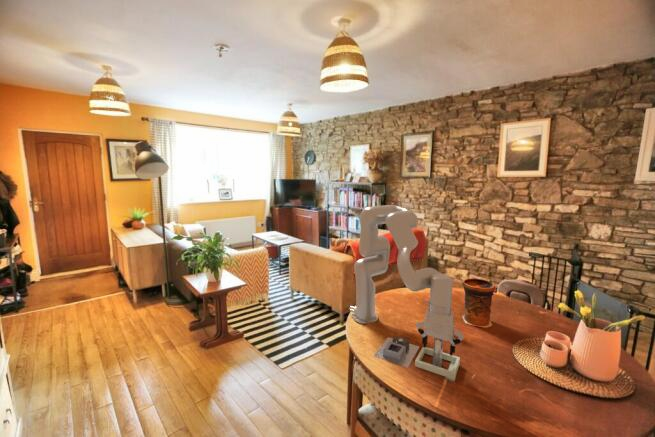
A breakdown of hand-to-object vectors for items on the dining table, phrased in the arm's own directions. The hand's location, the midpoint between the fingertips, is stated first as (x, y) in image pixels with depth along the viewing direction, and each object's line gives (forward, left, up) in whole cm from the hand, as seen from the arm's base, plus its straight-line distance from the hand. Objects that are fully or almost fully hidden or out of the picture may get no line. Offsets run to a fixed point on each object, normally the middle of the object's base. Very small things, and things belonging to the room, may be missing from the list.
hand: (438, 349), depth 113 cm
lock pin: (0, 0, -6) cm, 6 cm away
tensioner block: (-16, 0, -7) cm, 18 cm away
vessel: (+8, +46, -7) cm, 47 cm away
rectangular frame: (0, 0, -7) cm, 7 cm away
